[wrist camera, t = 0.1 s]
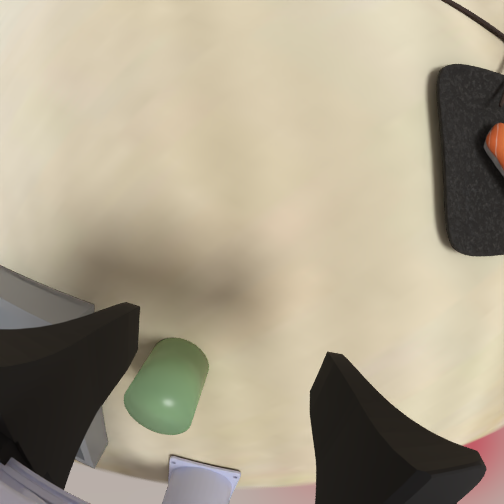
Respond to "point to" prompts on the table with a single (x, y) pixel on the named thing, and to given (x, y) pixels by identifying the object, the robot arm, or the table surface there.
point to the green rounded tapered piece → (168, 387)
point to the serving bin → (42, 314)
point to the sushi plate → (473, 153)
